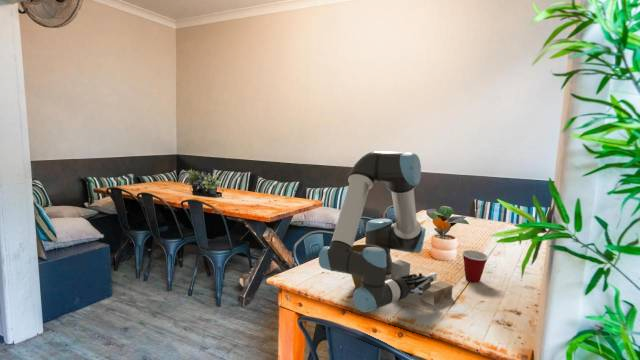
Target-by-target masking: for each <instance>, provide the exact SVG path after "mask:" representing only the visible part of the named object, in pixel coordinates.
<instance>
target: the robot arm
mask: <svg viewBox="0 0 640 360" xmlns="http://www.w3.org/2000/svg"><path fill="white" fill-rule="evenodd" d="M421 178H422V165H421V160H420V157H419V155H417V153H413V152H408V151H402V152H401V151H385V150H384V151H382V150H374V151H370V152H368V153H365V155H363V156H362V157H361V158H360V159H359V160H357V161H356V163H355V164H354V165H353V167H352V169H351V170H350V172H349V175H348V178H347V180H348V187H347V190H346V193H345V196H344V197H345V198H344V200H343V204H342V206H341V209H340V213H339V215H338V219H337V222H336V225H335V228H334V231H333V235H332V238H331V241H330V244H329V246H328V245H327V246H322V248H321V250H320V251H319V254H318V264H319V266H320V268H322V269H325V270H328V271H330V272H336V273H342V274H347V275H351V276H352V275H356V276H361V287H360V288H358V289H356V288H355V291H354V292H353V295H352V298H353V299H352V301H353V303H354V306H355V307H356V308H357V310H358V311H360V312H362V313H367V312H371V311H376V310H377V309H380V308H382V307H384V306H389V305H390V304H393V303H396V302H399V301H401V300H404V299H406V298H407V297H408V295H410V294H411V295H412V294H414V293H418V295H419V296H422V294H423V292H424V291H426V290H427V289H428V288H430V287H431V284H432V283H434V282H436V281H437V275H438V273H437V272H434V271H433V272H429V273H425V274H423V273H421V272H420V273H418V275H417V273H412V274H411V273H410V275H405V276H393V278H391V277H390V278H388V279H386V274H391V270H392V262H393V260H392V255H391V250H393V251H399V252H406V253H411V254H421V253H422V251H423V246H424V242H425V237H426V228H425V227H424V226H422V225H421V223H420V222H419V221H418V219H417V211H416V210H417V209H416V199H415V191H414V189H415V188H416V186H417V185H419V183H420V182H421V180H422V179H421ZM377 182H378V183H385V185H386V189H388V191H390V192H391V198H392V205H393V211H394V217H395V223H394V222H393V220H392V219H390V218H374V219H370V220H368V221H366V226H365V241H364V244H365V245H374V246H378V247H381V248H383V249H384V250H383V249H381V248H378V247H366V248H365V249H364V250H363V253H362V252H356V251H352V247H353V245H355V240H356V236H357V232H358V230H359V229H358V228H359V226H360V222H361V219H362V215H363V212H364V208H365V204H366V202H367V197H368V194H369V191H370V189H372V188H373V187H374V183H377Z"/></svg>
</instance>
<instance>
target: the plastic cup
mask: <svg viewBox="0 0 640 360" xmlns="http://www.w3.org/2000/svg"><path fill="white" fill-rule="evenodd" d="M461 253H462V257H463V266H464V275H465V277H464V278H465V280H466V281H467V282H469V281H470V282H469V283H474V284H475V283H477V284H478V283H480V282H481V279H482V276H483V272H484V270H485V266H486V264H487V261H488V260H489V258H490V257H489V255H488V254H486V253H484V252H481V251H478V250H472V249H468V250H467V249H465V250H463V251H462V252H461Z"/></svg>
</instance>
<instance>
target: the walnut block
mask: <svg viewBox="0 0 640 360" xmlns="http://www.w3.org/2000/svg"><path fill="white" fill-rule="evenodd" d="M452 296H453V284H450V283H449V282H446V281H443V280H440V281H437V282H435V283H434V282H433V283H431V287H430V288H428V289H427V290H426V291H424V292H423V294H422V295H421V301H423V302H425V303H427V304H429V305H432V306H434V305H436V304H437V305H438V304H439V303H441V302H444V301H447V300H449V299H451V298H453V297H452Z"/></svg>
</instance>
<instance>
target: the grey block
mask: <svg viewBox="0 0 640 360" xmlns="http://www.w3.org/2000/svg"><path fill="white" fill-rule="evenodd" d="M410 270H411V263H409V262H407V261H404V260H402V259H398V260H395V261H392V270H391V273H390V279H391V278H393V276H405V275H411V271H410Z"/></svg>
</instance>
